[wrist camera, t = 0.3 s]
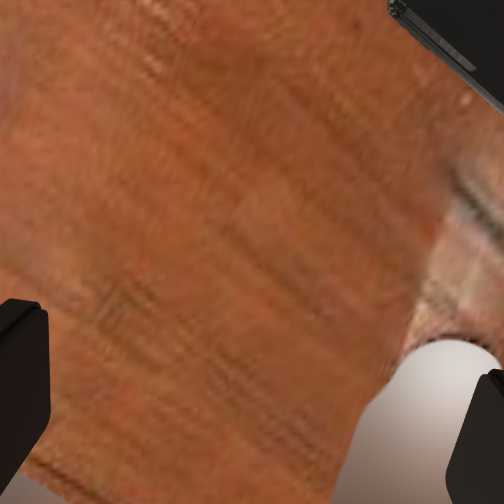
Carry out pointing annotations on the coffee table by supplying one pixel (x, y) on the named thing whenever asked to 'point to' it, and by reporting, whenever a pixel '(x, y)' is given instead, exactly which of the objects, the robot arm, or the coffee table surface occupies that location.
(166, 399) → the coffee table surface
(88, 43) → the coffee table surface
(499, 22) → the phone
